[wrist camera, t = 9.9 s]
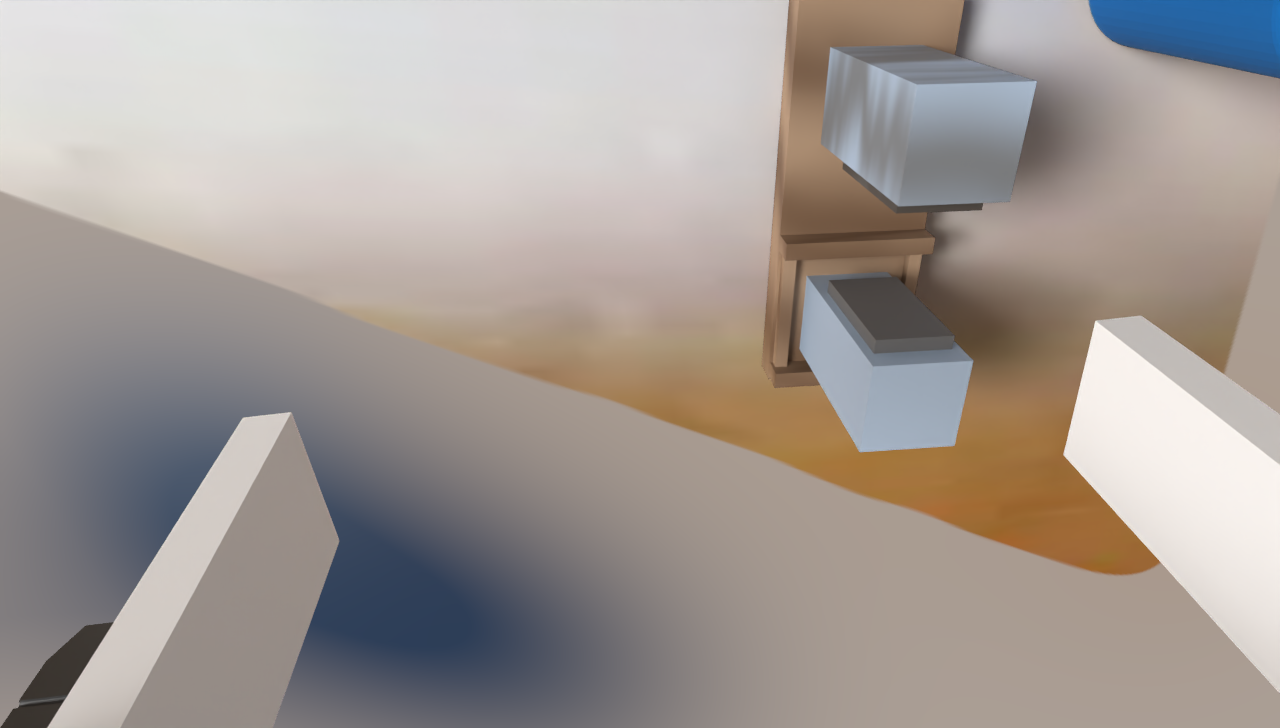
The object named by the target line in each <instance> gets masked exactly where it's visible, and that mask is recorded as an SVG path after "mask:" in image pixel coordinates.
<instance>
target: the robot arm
mask: <svg viewBox="0 0 1280 728" xmlns="http://www.w3.org/2000/svg"><path fill="white" fill-rule="evenodd" d="M1064 456H1065V457H1066V458H1067V459H1068V460H1069V462H1070V463H1071V464H1072V465H1073V466H1074V467H1075V468H1076V469H1077V470H1078V471H1079V473H1080V474H1081V475H1082V476H1083V477H1084V478H1085V479H1086V480H1087V481H1088V482H1089V484H1090V485H1091V486H1092V487H1093V488H1094V489H1095V490H1096V491H1097V492H1098V494H1099V495H1100V496H1101V497H1102V498H1103V499H1104V500H1105V501H1106V502H1107V503H1108V505H1109V506H1110V507H1111V508H1112V509H1113V510H1114V511H1115V512H1116V513H1117V514H1118V516H1119V517H1120V518H1121V519H1122V520H1123V521H1124V522H1125V523H1126V524H1127V525H1128V527H1129V528H1130V529H1131V530H1132V531H1133V532H1134V533H1135V534H1136V535H1137V537H1138V538H1139V539H1140V540H1141V541H1142V542H1143V543H1144V544H1145V545H1146V546H1147V548H1148V549H1149V550H1150V551H1151V552H1152V553H1153V554H1154V555H1155V556H1156V557H1157V559H1158V560H1159V561H1160V562H1161V563H1162V564H1163V565H1164V566H1165V567H1166V568H1167V569H1168V571H1169V572H1170V573H1171V574H1172V575H1173V576H1174V577H1175V578H1176V580H1177V581H1178V582H1179V583H1180V584H1181V585H1182V586H1183V587H1184V588H1185V589H1186V590H1187V592H1188V593H1189V594H1190V595H1191V596H1192V597H1193V598H1194V599H1195V600H1196V601H1197V603H1198V604H1199V605H1200V606H1201V607H1202V608H1203V609H1204V610H1205V612H1206V613H1207V614H1208V615H1209V616H1210V617H1211V618H1212V619H1213V620H1214V621H1215V623H1216V624H1217V625H1218V626H1219V627H1220V628H1221V629H1222V630H1223V631H1224V632H1225V634H1226V635H1227V636H1228V637H1229V638H1230V639H1231V640H1232V641H1233V642H1234V643H1235V644H1236V646H1237V647H1238V648H1239V649H1240V650H1241V651H1242V652H1243V653H1244V654H1245V655H1246V657H1247V658H1248V659H1249V660H1250V661H1251V662H1252V663H1253V664H1254V665H1255V667H1256V668H1257V669H1258V670H1259V671H1260V672H1261V673H1262V674H1263V675H1264V677H1266V679H1267V680H1268V681H1269V682H1270V683H1271V684H1272V685H1273V686H1274V687H1275V689H1276V690H1277V691H1278V692H1279V693H1280V414H1278V413H1277V412H1276V411H1274V410H1273V409H1272V408H1270V407H1269V406H1267V405H1266V404H1265V403H1263V402H1262V401H1260V400H1259V399H1257V398H1256V397H1255V396H1253V395H1252V394H1251V393H1249V392H1248V391H1246V390H1245V389H1243V388H1242V387H1241V386H1239V385H1238V384H1237V383H1235V382H1234V381H1232V380H1231V379H1229V378H1228V377H1227V376H1225V375H1224V374H1222V373H1221V372H1220V371H1218V370H1217V369H1215V368H1214V367H1213V366H1211V365H1210V364H1208V363H1207V362H1206V361H1204V360H1203V359H1201V358H1200V357H1199V356H1197V355H1196V354H1194V353H1193V352H1192V351H1190V350H1189V349H1187V348H1186V347H1185V346H1183V345H1182V344H1180V343H1179V342H1178V341H1176V340H1175V339H1173V338H1172V337H1170V336H1169V335H1168V334H1166V333H1165V332H1163V331H1162V330H1161V329H1159V328H1158V327H1156V326H1155V325H1154V324H1152V323H1151V322H1149V321H1148V320H1147V319H1145V318H1144V317H1142V316H1133V317H1124V318H1116V319H1107V320H1098V321H1095V325H1094V330H1093V334H1092V338H1091V342H1090V346H1089V351H1088V355H1087V359H1086V363H1085V367H1084V371H1083V376H1082V380H1081V384H1080V388H1079V392H1078V396H1077V401H1076V405H1075V409H1074V413H1073V417H1072V422H1071V426H1070V430H1069V434H1068V438H1067V442H1066V447H1065V451H1064ZM338 543H339V539H338V536H337V533H336V531H335V528H334V525H333V522H332V520H331V517H330V514H329V512H328V509H327V506H326V504H325V501H324V498H323V496H322V493H321V491H320V488H319V485H318V482H317V480H316V477H315V474H314V472H313V469H312V466H311V463H310V461H309V458H308V456H307V453H306V450H305V447H304V445H303V442H302V439H301V437H300V434H299V431H298V429H297V426H296V423H295V421H294V418H293V415H292V413H291V412H289V413H280V414H271V415H263V416H254V417H245V418H243V419H242V420H241V422H240V423H239V425H238V426H237V428H236V430H235V431H234V433H233V435H232V436H231V438H230V439H229V441H228V442H227V444H226V446H225V447H224V449H223V450H222V452H221V453H220V455H219V457H218V458H217V460H216V461H215V463H214V464H213V466H212V468H211V469H210V471H209V473H208V474H207V476H206V477H205V479H204V481H203V482H202V484H201V485H200V487H199V488H198V490H197V492H196V493H195V495H194V496H193V498H192V499H191V501H190V502H189V504H188V506H187V507H186V509H185V510H184V512H183V514H182V515H181V517H180V518H179V520H178V522H177V523H176V525H175V526H174V528H173V529H172V531H171V533H170V534H169V536H168V538H167V539H166V541H165V542H164V544H163V545H162V547H161V548H160V550H159V552H158V553H157V555H156V556H155V558H154V560H153V561H152V563H151V565H150V566H149V567H148V569H147V571H146V572H145V574H144V575H143V577H142V579H141V580H140V582H139V583H138V585H137V587H136V588H135V590H134V591H133V593H132V594H131V596H130V598H129V599H128V601H127V602H126V604H125V605H124V607H123V609H122V610H121V612H120V613H119V615H118V617H117V618H116V620H115V621H114V622H112V623H103V624H95V625H88V626H85V627H84V628H83V629H81V630H80V631H79V632H78V633H77V634H76V635H75V636H74V637H73V638H71V639H70V640H69V641H68V642H67V643H66V644H65V645H64V646H63V647H62V648H60V649H59V650H58V651H57V652H56V653H55V654H54V655H53V656H51V657H50V658H49V659H48V660H47V661H46V662H45V664H44V665H43V667H42V668H41V669H40V671H39V673H38V674H37V675H36V677H35V678H34V680H33V681H32V682H31V684H30V685H29V687H28V688H27V690H26V691H25V693H24V694H23V696H22V697H21V699H20V700H19V702H20V704H19V707H18V708H16V709H13V710H12V712H11V713H10V715H9V716H8V718H7V719H6V720H5V722H4V723H3V725H2V726H1V728H273V725H274V722H275V719H276V717H277V713H278V711H279V708H280V706H281V703H282V700H283V697H284V694H285V691H286V689H287V686H288V683H289V680H290V678H291V675H292V672H293V669H294V666H295V663H296V660H297V658H298V655H299V652H300V649H301V647H302V644H303V641H304V638H305V635H306V632H307V630H308V627H309V624H310V622H311V618H312V616H313V613H314V610H315V607H316V605H317V602H318V599H319V596H320V593H321V591H322V588H323V585H324V582H325V579H326V577H327V574H328V571H329V568H330V565H331V563H332V560H333V557H334V554H335V551H336V549H337V546H338Z"/></svg>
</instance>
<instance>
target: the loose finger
mask: <svg viewBox="0 0 1280 728" xmlns="http://www.w3.org/2000/svg"><path fill="white" fill-rule="evenodd" d="M954 337H955V335H954V334H953V333H952V332H951V331H950V330H949V329H948V328H947V327H946V326H945V325H944V324H943V323H942V322H941V321H940V320H939V319H938V318H937V317H936V316H935V315H934V314H933V313H932V312H931V311H930V310H929V309H928V308H927V307H926V306H925V305H924V304H923V303H922V302H921V301H920V300H919V299H918V298H917V297H916V296H915V295H914V294H913V293H912V292H911V291H910V290H909V289H908V288H907V287H906V286H905V285H904V284H903V283H902V282H901V281H900V280H899V279H898V278H897V277H892V276H891V275H890V274H889V273H888V272H876V273H855V274H835V275H814V276H807V278H806V288H805V298H804V308H803V318H802V328H801V338H800V348H799V349H800V351H801V353H802V354H803V356H804V358H805V359H806V361H807V363H808V364H809V366H810V368H811V370H812V371H813V373H814V375H815V376H816V378H817V380H818V382H819V383H820V385H821V387H822V388H823V390H824V392H825V393H826V395H827V397H828V399H829V400H830V402H831V404H832V405H833V407H834V409H835V411H836V412H837V414H838V416H839V417H840V419H841V421H842V422H843V424H844V426H845V428H846V429H847V431H848V433H849V434H850V436H851V438H852V440H853V441H854V443H855V445H856V446H857V448H858V450H859V452H869V451H884V450H899V449H914V448H929V447H944V446H954V445H955V441H956V436H957V432H958V427H959V423H960V418H961V414H962V409H963V405H964V401H965V396H966V392H967V387H968V383H969V378H970V374H971V369H972V365H973V360H972V359H971V358H970V357H969V356H968V355H967V354H966V353H965V352H964V351H963V350H962V348H961V347H960V346H959V345H958V344H957V343H956V342H955V341H954Z"/></svg>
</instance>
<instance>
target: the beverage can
mask: <svg viewBox="0 0 1280 728" xmlns="http://www.w3.org/2000/svg"><path fill="white" fill-rule="evenodd" d="M1088 2H1089V7H1090V11H1091V14H1092V17H1093V19H1094V21H1095V23H1096V25H1097V26H1098V28H1099V29H1100V30H1101V31H1102V32H1103V33H1104V34H1105V35H1106V36H1107V37H1108V38H1110V39H1111V40H1112V41H1114V42H1116V43H1118V44H1120V45H1124V46H1127V47H1132V48H1137V49H1142V50H1146V51H1151V52H1156V53H1161V54H1166V55H1170V56H1175V57H1180V58H1185V59H1189V60H1194V61H1199V62H1204V63H1209V64H1213V65H1218V66H1223V67H1228V68H1233V69H1237V70H1242V71H1247V72H1252V73H1257V74H1261V75H1266V76H1271V77H1276V78H1280V0H1088Z"/></svg>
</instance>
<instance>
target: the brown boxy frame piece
mask: <svg viewBox="0 0 1280 728" xmlns="http://www.w3.org/2000/svg"><path fill="white" fill-rule="evenodd" d="M963 6H964V0H789V10H788V23H787V37H786V50H785V63H784V77H783V90H782V103H781V117H780V130H779V143H778V157H777V170H776V183H775V197H774V210H773V223H772V237H771V250H770V263H769V277H768V290H767V303H766V317H765V330H764V343H763V357H762V367H763V369H764V371H765V373H766V375H767V377H768V379H771V381H772V384H773V386H774V388H781V387H798V386H815V385H820V383H819V382H818V380H817V378H816V376H815V375H814V373H813V371H812V370H811V368H810V366H809V364H808V363H807V361H806V359H805V358H804V356H803V354H802V353H801V351H800V349H799V348H800V338H801V328H802V318H803V308H804V298H805V288H806V278H807V276H814V275H835V274H855V273H876V272H888V273H889V274H890V275H891V276H892V277H897V278H898V279H899V280H900V281H901V282H902V283H903V284H904V285H905V286H906V287H907V288H908V289H909V290H910V291H911V292H912V293H913V294H914V295H915V293H916V287H917V281H918V276H919V270H920V264H921V259H922V255H923V254H933V248H934V243H935V237H934V236H933V235H931V234H930V233H929V232H928V231H926V230H925V224H926V219H927V213H928V212H946V211H970V210H982V206H983V203H994V202H1010V199H1011V195H1012V190H1013V186H1014V181H1015V177H1016V172H1017V168H1018V164H1019V159H1020V155H1021V150H1022V146H1023V141H1024V137H1025V132H1026V128H1027V124H1028V119H1029V115H1030V110H1031V106H1032V101H1033V97H1034V92H1035V88H1036V84H1037V81H1035V80H1031V79H1028V78H1025V77H1022V76H1019V75H1016V74H1013V73H1009V72H1006V71H1003V70H1000V69H997V68H994V67H991V66H987V65H984V64H981V63H978V62H975V61H972V60H969V59H965V58H962V57H959V56H956V55H955V52H956V46H957V40H958V35H959V29H960V23H961V17H962V12H963Z"/></svg>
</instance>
